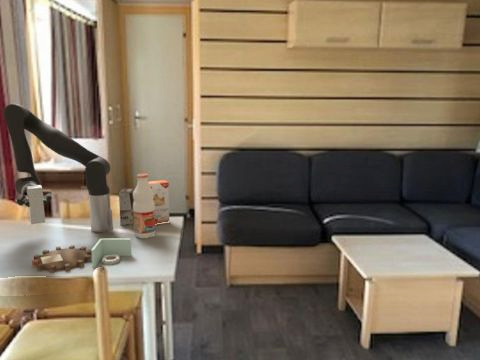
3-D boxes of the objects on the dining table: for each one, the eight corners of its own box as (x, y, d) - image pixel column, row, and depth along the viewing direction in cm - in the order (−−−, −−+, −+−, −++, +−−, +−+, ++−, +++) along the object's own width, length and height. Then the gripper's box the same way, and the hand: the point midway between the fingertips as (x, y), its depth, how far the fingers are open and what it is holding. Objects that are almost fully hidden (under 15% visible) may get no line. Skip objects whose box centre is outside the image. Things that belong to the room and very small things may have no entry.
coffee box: (133, 224, 215) (132, 192, 211) (120, 225, 214) (118, 192, 211) (136, 219, 224) (134, 188, 220) (123, 219, 223) (121, 188, 220)
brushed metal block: (43, 218, 178) (40, 184, 175) (45, 222, 174) (42, 187, 171) (29, 220, 176) (26, 186, 173) (31, 224, 172) (27, 189, 169)
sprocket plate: (85, 246, 187) (85, 242, 187) (98, 264, 169) (97, 259, 169) (29, 256, 176) (28, 251, 176) (36, 277, 158) (35, 271, 158)
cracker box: (142, 228, 211) (140, 185, 206) (138, 224, 216) (136, 182, 211) (170, 223, 217) (168, 181, 213) (165, 220, 222) (164, 179, 218)
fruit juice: (139, 230, 207) (137, 171, 200) (159, 232, 205) (156, 172, 198) (130, 237, 198) (127, 176, 191) (150, 239, 196) (148, 177, 189)
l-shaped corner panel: (92, 268, 167) (91, 249, 165) (101, 256, 179) (100, 238, 177) (124, 268, 167) (123, 249, 166) (131, 256, 179) (130, 238, 177)
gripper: (11, 186, 181) (14, 196, 167) (49, 182, 188) (55, 192, 174) (13, 204, 183) (16, 215, 168) (51, 200, 190) (57, 210, 175)
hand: (36, 203), depth 171 cm, fingers closed on brushed metal block, 5 cm apart
